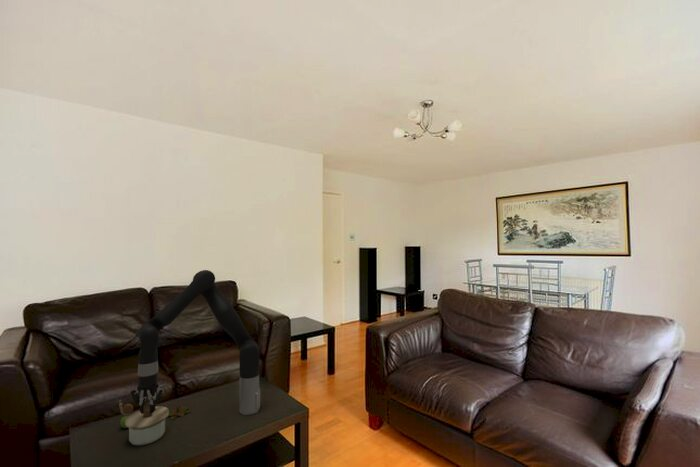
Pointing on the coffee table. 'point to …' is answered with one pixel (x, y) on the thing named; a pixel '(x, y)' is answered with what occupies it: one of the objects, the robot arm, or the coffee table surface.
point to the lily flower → (179, 409)
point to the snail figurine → (125, 413)
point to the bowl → (146, 434)
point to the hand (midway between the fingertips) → (147, 412)
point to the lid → (146, 417)
